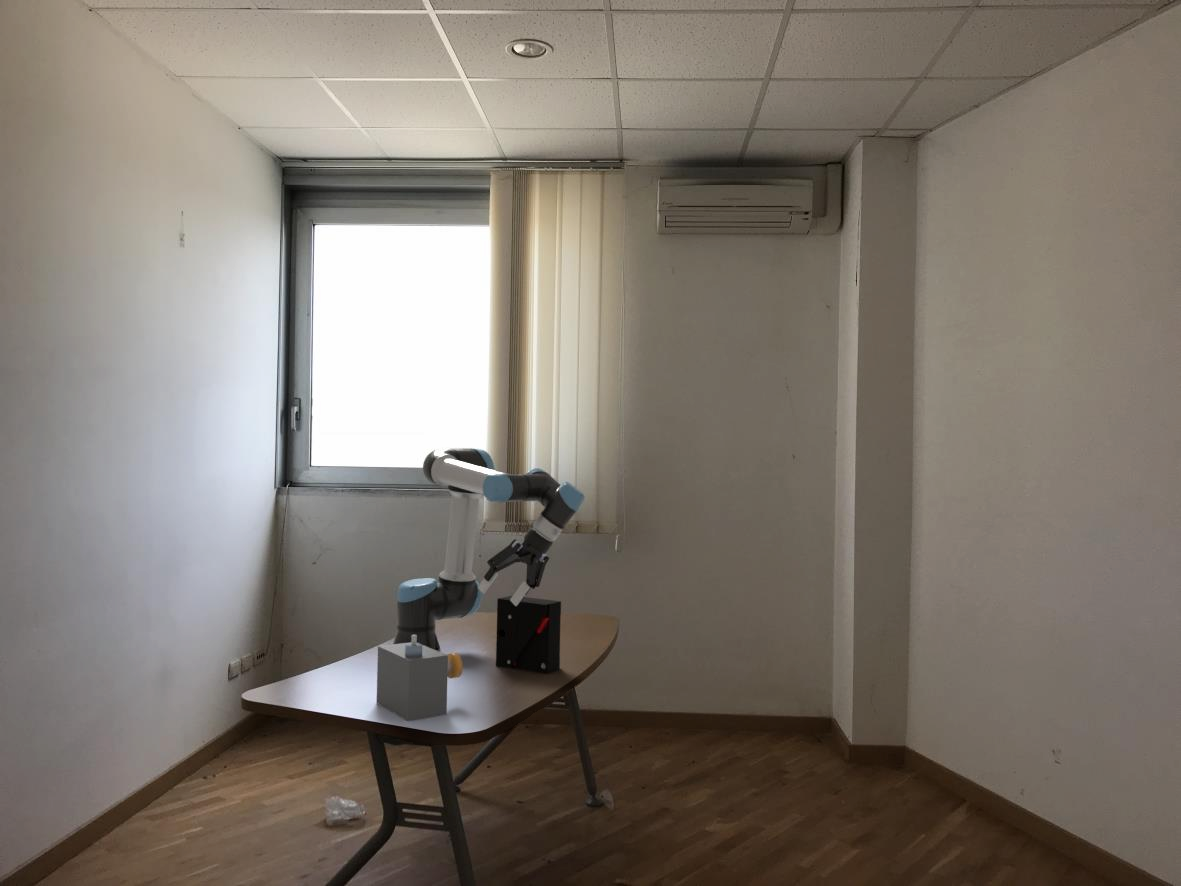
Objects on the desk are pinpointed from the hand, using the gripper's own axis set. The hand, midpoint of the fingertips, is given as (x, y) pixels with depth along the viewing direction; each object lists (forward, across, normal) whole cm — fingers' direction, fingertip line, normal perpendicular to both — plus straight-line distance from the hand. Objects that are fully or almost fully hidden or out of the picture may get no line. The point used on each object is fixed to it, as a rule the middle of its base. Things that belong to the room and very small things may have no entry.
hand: (497, 597), depth 237 cm
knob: (+20, -15, -15) cm, 29 cm away
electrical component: (+16, +27, -2) cm, 32 cm away
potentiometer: (+16, -28, -15) cm, 36 cm away
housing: (+28, -20, -17) cm, 39 cm away
